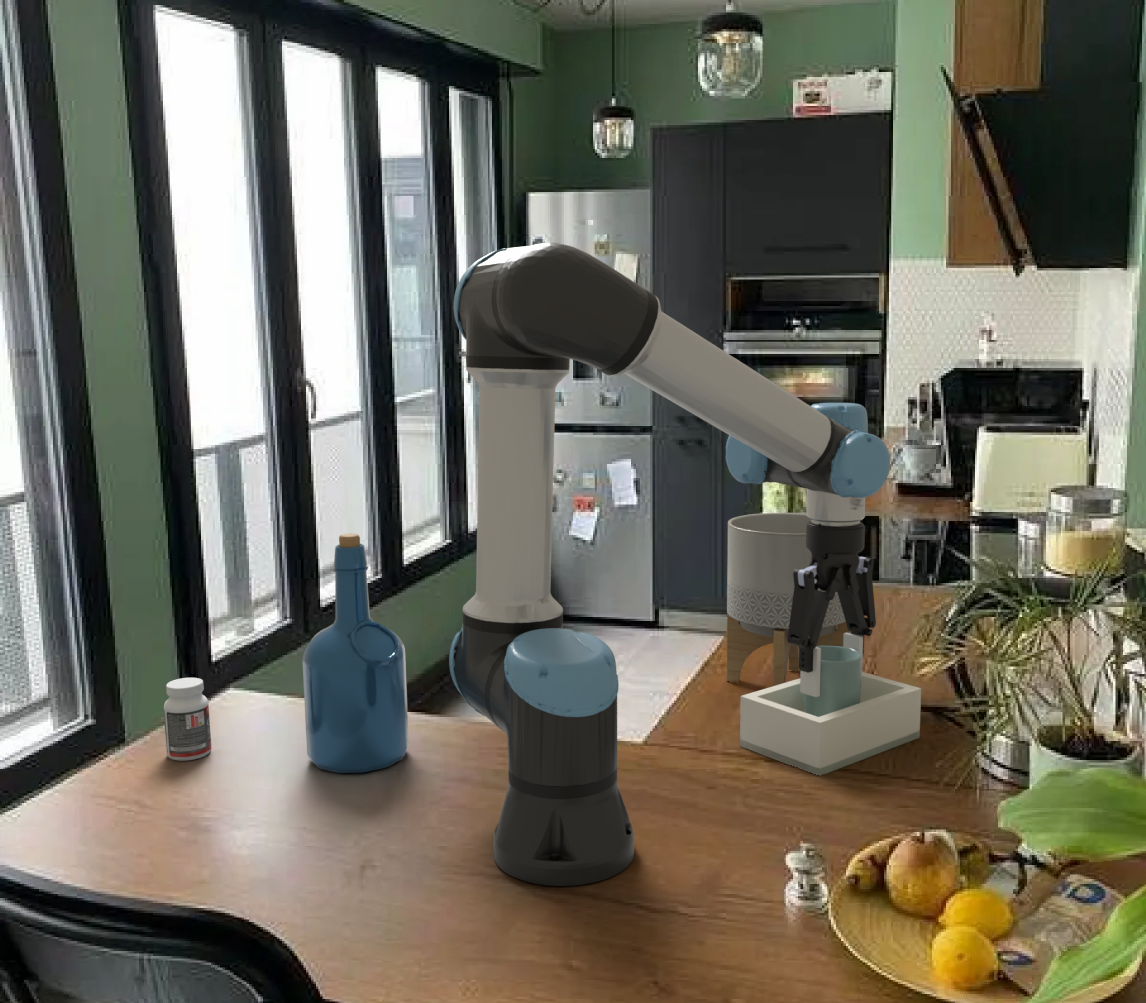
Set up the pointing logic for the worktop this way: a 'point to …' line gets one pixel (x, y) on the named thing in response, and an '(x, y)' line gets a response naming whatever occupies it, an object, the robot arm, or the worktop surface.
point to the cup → (836, 681)
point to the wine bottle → (354, 678)
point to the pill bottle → (187, 720)
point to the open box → (829, 724)
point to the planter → (769, 591)
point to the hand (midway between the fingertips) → (831, 687)
